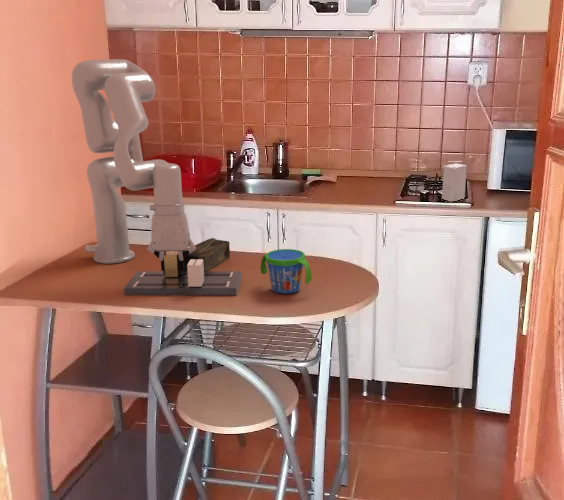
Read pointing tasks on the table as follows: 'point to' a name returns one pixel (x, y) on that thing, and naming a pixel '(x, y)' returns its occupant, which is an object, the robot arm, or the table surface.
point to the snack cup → (286, 269)
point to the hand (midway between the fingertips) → (173, 272)
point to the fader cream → (195, 273)
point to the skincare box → (454, 182)
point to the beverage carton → (209, 253)
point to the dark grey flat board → (183, 284)
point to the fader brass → (171, 264)
